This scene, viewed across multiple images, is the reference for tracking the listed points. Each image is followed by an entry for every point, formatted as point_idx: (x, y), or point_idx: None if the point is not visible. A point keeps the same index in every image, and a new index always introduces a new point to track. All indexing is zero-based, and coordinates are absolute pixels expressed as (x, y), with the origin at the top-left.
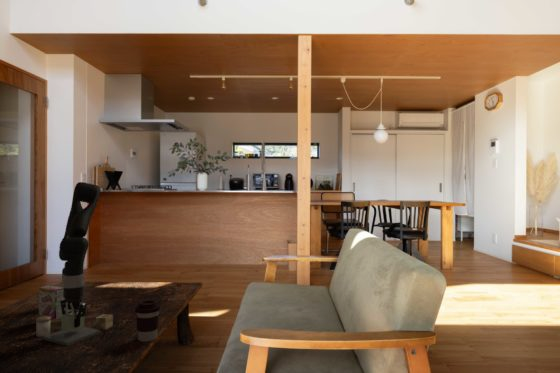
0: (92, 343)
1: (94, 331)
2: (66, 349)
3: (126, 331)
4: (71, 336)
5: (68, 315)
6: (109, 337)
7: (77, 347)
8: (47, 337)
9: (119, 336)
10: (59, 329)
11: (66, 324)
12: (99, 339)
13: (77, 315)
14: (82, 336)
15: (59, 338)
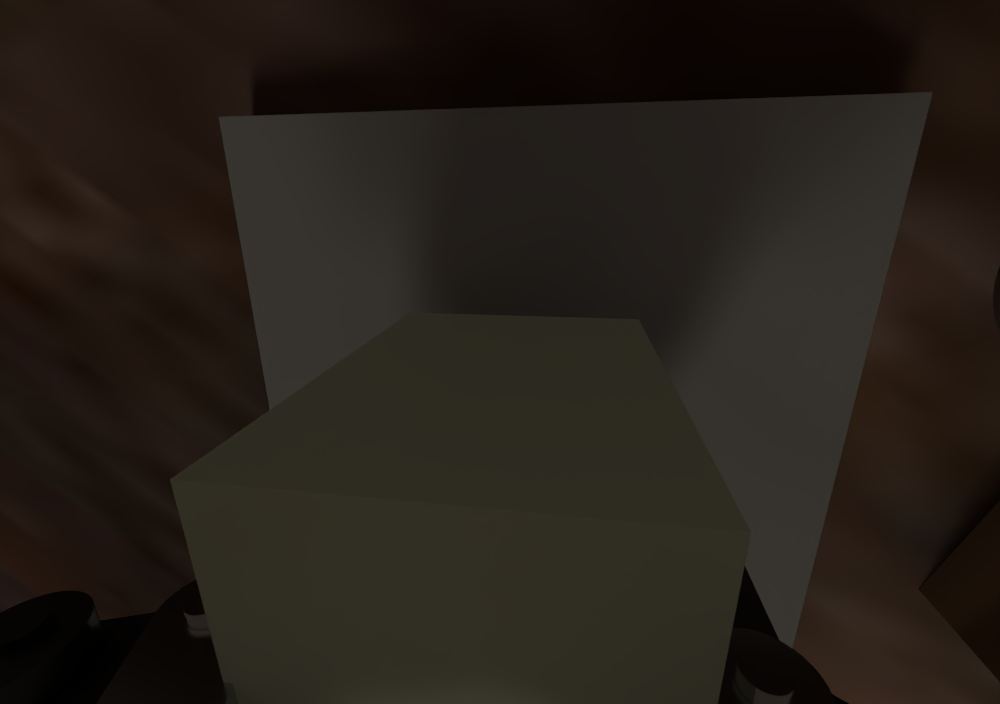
0: (102, 336)
1: None
2: (148, 33)
3: None
4: None
5: (399, 614)
6: (133, 523)
7: (109, 163)
8: (789, 104)
9: (87, 570)
10: (989, 519)
11: (442, 359)
12: (158, 449)
13: (24, 673)
14: (288, 390)
15: (517, 182)
